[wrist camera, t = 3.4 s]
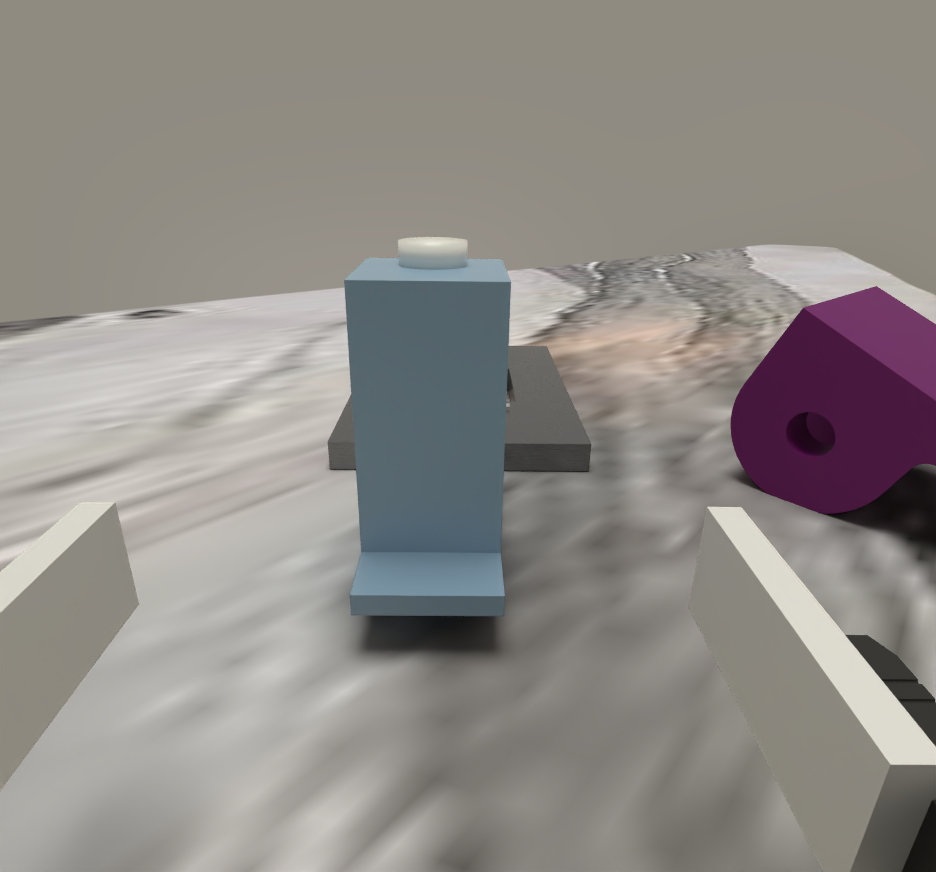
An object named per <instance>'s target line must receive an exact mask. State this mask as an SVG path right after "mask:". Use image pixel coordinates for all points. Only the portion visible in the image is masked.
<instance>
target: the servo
mask: <svg viewBox="0 0 936 872" xmlns="http://www.w3.org/2000/svg"><path fill="white" fill-rule="evenodd" d="M398 257H399V258H367V259H366V260H365V261H364V262H363V263H362V264H361V265H360V266H359V267H358V268H356V269H355V270H354V271H353V272H352V273H351V274H350V275H349V276H348V277H347V278H346V279H345V280H344V283H345V299H346V315H347V331H348V347H349V363H350V379H351V395H352V411H353V427H354V443H355V458H356V474H357V490H358V506H359V522H360V538H361V555H360V559H359V563H358V566H357V570H356V574H355V578H354V581H353V585H352V589H351V593H350V604H351V615H389V616H504V601H505V594H504V583H503V573H502V562H501V530H502V504H503V477H504V451H505V424H506V398H507V371H508V345H509V318H510V292H511V281H510V278H509V276H508V274H507V271H506V269H505V266H504V264H503V261H502V260H501V259H467V240H464V239H458V238H447V237H416V238H404V239H400V240H398Z"/></svg>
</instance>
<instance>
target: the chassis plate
mask: <svg viewBox="0 0 936 872" xmlns="http://www.w3.org/2000/svg"><path fill="white" fill-rule="evenodd" d="M507 390H508V391H509V396H510V401H511V402H506V424H505V451H504V470H509V471H589V462H590V451H591V443H590V440H589V438H588V436H587V434H586V432H585V430H584V427H583V425H582V423H581V421H580V419H579V416H578V414H577V412H576V410H575V408H574V405H573V403H572V401H571V399H570V397H569V394H568V392H567V390H566V388H565V386H564V383H563V381H562V379H561V377H560V375H559V373H558V370H557V368H556V366H555V364H554V362H553V359H552V357H551V355H550V353H549V351H548V348H547V346H508V371H507ZM328 451H329V463H330V469H356V458H355V443H354V427H353V411H352V395H351V396H350V398H349V400H348V402H347V404H346V406H345V408H344V410H343V412H342V414H341V416H340V418H339V420H338V422H337V424H336V426H335V428H334V430H333V432H332V434H331V436H330V438H329V440H328Z"/></svg>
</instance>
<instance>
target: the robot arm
mask: <svg viewBox="0 0 936 872" xmlns="http://www.w3.org/2000/svg"><path fill="white" fill-rule="evenodd" d="M138 605H139V602H138V598H137V594H136V590H135V585H134V581H133V577H132V572H131V568H130V564H129V559H128V555H127V551H126V546H125V542H124V538H123V534H122V529H121V525H120V521H119V516H118V512H117V508H116V503H115V502H80V503H79V504H78V505H76V506H75V507H74V508H73V509H72V510H71V511H70V512H68V513H67V514H66V515H65V516H64V517H63V518H61V519H60V520H59V521H58V522H57V523H56V524H55V525H53V526H52V527H51V528H50V529H49V530H48V531H47V532H45V533H44V534H43V535H42V536H41V537H40V538H39V539H37V540H36V541H35V542H34V543H33V544H32V545H31V546H29V547H28V548H27V549H26V550H25V551H24V552H23V553H21V554H20V555H19V556H18V557H17V558H16V559H15V560H13V561H12V562H11V563H10V564H9V565H8V566H7V567H5V568H4V569H3V570H2V571H1V572H0V790H1V789H2V788H3V786H4V785H5V784H6V782H7V781H8V780H9V778H10V777H11V776H12V774H13V773H14V771H15V770H16V769H17V767H18V766H19V765H20V763H21V762H22V761H23V759H24V758H25V757H26V755H27V754H28V753H29V751H30V750H31V749H32V747H33V746H34V745H35V743H36V742H37V741H38V739H39V738H40V737H41V735H42V734H43V733H44V731H45V730H46V728H47V727H48V726H49V724H50V723H51V722H52V720H53V719H54V718H55V716H56V715H57V714H58V712H59V711H60V710H61V708H62V707H63V706H64V704H65V703H66V702H67V700H68V699H69V698H70V696H71V695H72V694H73V692H74V691H75V689H76V688H77V687H78V685H79V684H80V683H81V681H82V680H83V679H84V677H85V676H86V675H87V673H88V672H89V671H90V669H91V668H92V667H93V665H94V664H95V663H96V661H97V660H98V659H99V657H100V656H101V655H102V653H103V652H104V651H105V649H106V648H107V646H108V645H109V644H110V642H111V641H112V640H113V638H114V637H115V636H116V634H117V633H118V632H119V630H120V629H121V628H122V626H123V625H124V624H125V622H126V621H127V620H128V618H129V617H130V616H131V614H132V613H133V612H134V610H135V609H136V608H137V606H138ZM689 609H690V611H691V613H692V615H693V617H694V619H695V621H696V623H697V625H698V627H699V629H700V631H701V633H702V635H703V637H704V639H705V641H706V643H707V645H708V647H709V649H710V651H711V652H712V654H713V656H714V658H715V660H716V662H717V664H718V666H719V668H720V670H721V672H722V674H723V676H724V678H725V680H726V682H727V684H728V686H729V688H730V690H731V692H732V694H733V696H734V698H735V700H736V702H737V704H738V706H739V708H740V710H741V712H742V713H743V715H744V717H745V719H746V721H747V723H748V725H749V727H750V729H751V731H752V733H753V735H754V737H755V739H756V741H757V743H758V745H759V747H760V749H761V751H762V753H763V755H764V757H765V759H766V761H767V763H768V765H769V767H770V769H771V771H772V773H773V774H774V776H775V778H776V780H777V782H778V784H779V786H780V788H781V790H782V792H783V794H784V796H785V798H786V800H787V802H788V804H789V806H790V808H791V810H792V812H793V814H794V816H795V818H796V820H797V822H798V824H799V826H800V828H801V830H802V832H803V834H804V836H805V837H806V839H807V841H808V843H809V845H810V847H811V849H812V851H813V853H814V855H815V857H816V859H817V861H818V863H819V865H820V867H821V869H822V871H823V872H936V702H935V698H934V697H933V696H932V695H931V694H930V693H929V692H928V690H927V689H926V688H925V687H924V686H923V685H922V684H919V683H918V679H917V678H916V677H915V676H914V675H913V673H912V672H911V671H910V670H909V669H908V668H907V667H906V665H905V664H904V663H903V662H902V661H901V660H900V659H899V658H898V656H897V655H895V654H894V653H892V652H891V651H889V650H888V649H886V648H885V647H884V646H882V645H881V644H879V643H878V642H876V641H875V640H873V639H872V638H871V637H869V636H868V635H845V634H844V633H843V632H842V631H841V629H840V628H839V627H838V626H837V625H836V623H835V622H834V621H833V620H832V618H831V617H830V616H829V615H828V613H827V612H826V611H825V610H824V609H823V607H822V606H821V605H820V604H819V602H818V601H817V600H816V599H815V597H814V596H813V595H812V594H811V593H810V591H809V590H808V589H807V588H806V586H805V585H804V584H803V583H802V581H801V580H800V579H799V578H798V577H797V575H796V574H795V573H794V572H793V570H792V569H791V568H790V567H789V565H788V564H787V563H786V562H785V561H784V559H783V558H782V557H781V556H780V554H779V553H778V552H777V551H776V549H775V548H774V547H773V546H772V545H771V543H770V542H769V541H768V540H767V538H766V537H765V536H764V535H763V533H762V532H761V531H760V530H759V529H758V527H757V526H756V525H755V524H754V522H753V521H752V520H751V519H750V517H749V516H748V515H747V514H746V512H745V511H744V510H743V509H742V508H741V507H707V510H706V515H705V521H704V526H703V532H702V537H701V543H700V548H699V554H698V560H697V565H696V571H695V576H694V582H693V587H692V593H691V598H690V604H689Z"/></svg>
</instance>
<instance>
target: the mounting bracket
mask: <svg viewBox="0 0 936 872" xmlns="http://www.w3.org/2000/svg"><path fill="white" fill-rule="evenodd" d="M731 436H732V442H733V446H734V449H735V452H736V454H737V457H738V459H739V461H740V463H741V465H742V467H743V468H744V470H745V471H746V473H747V474H748V475H749V477H750V478H751V479H752V480H753V481H754V482H755V483H756V484H757V485H758V486H759V487H760V488H761V489H762V490H763V491H764V492H766V493H767V494H769V495H772V496H775V497H778V498H780V499H783V500H786V501H788V502H791V503H794V504H797V505H799V506H802V507H805V508H808V509H810V510H813V511H816V512H818V513H822V514H833V513H842V512H847V511H851V510H854V509H857V508H860V507H862V506H864V505H867V504H869V503H870V502H872V501H874V500H875V499H877V498H878V497H879V496H880V495H882V494H883V493H884V492H885V491H886V490H887V489H889V488H890V487H891V486H892V485H893V484H894V483H895V482H897V481H898V480H899V479H900V478H901V477H902V476H903V475H905V474H906V473H907V472H908V471H909V470H910V469H911V468H912V467H914V466H916V465H919V464H932V465H935V466H936V324H934V323H933V322H931V321H930V320H928V319H927V318H925V317H923V316H922V315H920V314H919V313H917V312H916V311H914V310H913V309H911V308H909V307H908V306H906V305H905V304H903V303H902V302H900V301H899V300H897V299H895V298H894V297H892V296H891V295H889V294H888V293H886V292H885V291H883V290H881V289H880V288H878V287H877V286H876V287H872V288H869V289H865V290H862V291H859V292H855V293H852V294H849V295H845V296H842V297H838V298H835V299H832V300H828V301H825V302H821V303H818V304H815V305H811V306H808V307H804V308H803V309H802V310H801V311H800V313H799V314H798V315H797V317H796V318H795V319H794V321H793V322H792V323H791V324H790V326H789V327H788V328H787V330H786V331H785V332H784V333H783V335H782V336H781V337H780V339H779V340H778V341H777V342H776V344H775V345H774V346H773V348H772V349H771V350H770V351H769V353H768V354H767V355H766V357H765V358H764V359H763V361H762V362H761V363H760V364H759V366H758V367H757V368H756V370H755V371H754V372H753V373H752V375H751V376H750V377H749V379H748V380H747V381H746V382H745V384H744V385H743V387H742V388H741V390H740V392H739V394H738V395H737V398H736V400H735V403H734V406H733V410H732V415H731Z"/></svg>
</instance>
